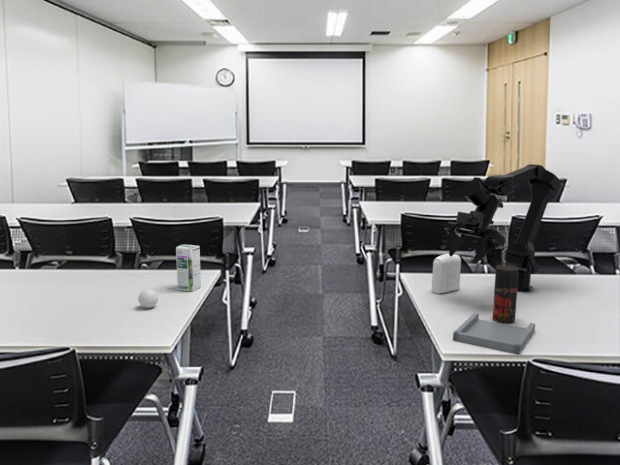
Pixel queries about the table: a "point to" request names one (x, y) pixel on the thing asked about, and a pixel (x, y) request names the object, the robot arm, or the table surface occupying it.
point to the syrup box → (188, 267)
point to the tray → (493, 334)
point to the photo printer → (446, 273)
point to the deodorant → (505, 294)
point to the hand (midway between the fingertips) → (462, 258)
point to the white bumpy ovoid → (148, 298)
